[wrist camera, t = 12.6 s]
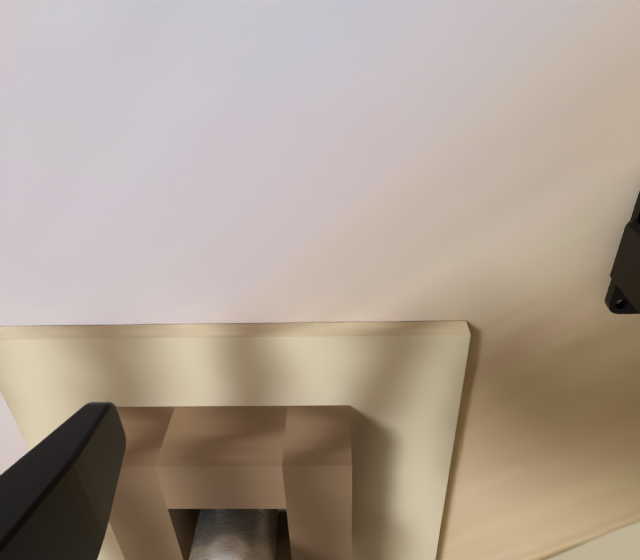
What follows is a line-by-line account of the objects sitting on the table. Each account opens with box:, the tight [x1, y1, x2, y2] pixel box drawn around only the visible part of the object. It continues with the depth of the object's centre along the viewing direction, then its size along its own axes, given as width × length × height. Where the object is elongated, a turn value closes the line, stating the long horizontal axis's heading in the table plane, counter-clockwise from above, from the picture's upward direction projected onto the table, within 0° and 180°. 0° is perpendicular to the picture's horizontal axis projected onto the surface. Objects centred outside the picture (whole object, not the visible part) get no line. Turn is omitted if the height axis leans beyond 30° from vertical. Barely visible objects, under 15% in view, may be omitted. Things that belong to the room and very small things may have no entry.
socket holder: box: [0, 321, 471, 560], centre depth 28 cm, size 22×20×4 cm
